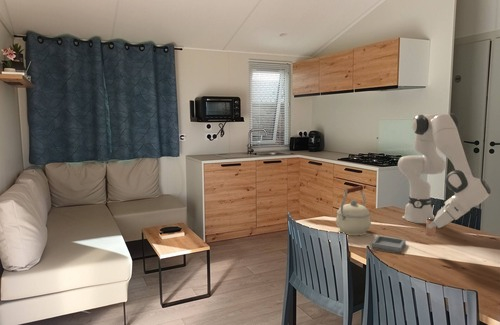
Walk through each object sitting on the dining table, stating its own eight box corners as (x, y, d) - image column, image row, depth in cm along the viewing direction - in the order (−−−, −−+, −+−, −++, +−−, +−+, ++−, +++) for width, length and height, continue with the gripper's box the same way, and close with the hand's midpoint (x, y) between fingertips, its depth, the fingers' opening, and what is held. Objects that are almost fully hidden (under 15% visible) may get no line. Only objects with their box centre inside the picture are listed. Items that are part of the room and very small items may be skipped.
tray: (377, 239, 193) (378, 235, 192) (405, 244, 186) (405, 239, 185) (371, 248, 181) (371, 242, 181) (400, 253, 175) (400, 247, 174)
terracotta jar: (426, 232, 178) (427, 216, 177) (435, 234, 176) (436, 217, 175) (425, 235, 174) (426, 218, 173) (434, 236, 172) (435, 219, 171)
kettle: (356, 240, 192) (357, 192, 189) (327, 232, 206) (327, 187, 203) (381, 230, 208) (383, 185, 205) (353, 223, 222) (354, 181, 219)
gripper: (451, 197, 178) (427, 214, 184) (447, 207, 161) (421, 226, 167) (461, 207, 176) (437, 224, 183) (459, 218, 159) (432, 237, 165)
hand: (429, 225), depth 175 cm, fingers closed on terracotta jar, 4 cm apart
